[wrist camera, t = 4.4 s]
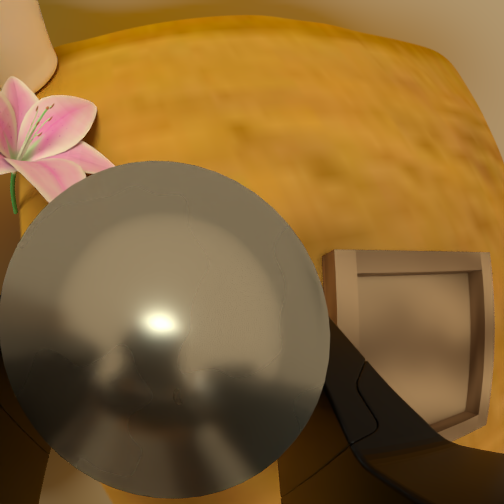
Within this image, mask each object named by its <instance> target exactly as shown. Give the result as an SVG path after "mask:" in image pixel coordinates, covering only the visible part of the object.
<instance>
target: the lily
mask: <svg viewBox="0 0 504 504" xmlns="http://www.w3.org/2000/svg"><path fill="white" fill-rule="evenodd" d="M96 112H97V107H96V106H95V105H94V103H92V102H91V101H88V100H85V99H82V98H78V97H73V96H66V95H52V96H48V97H45V98H42V99H40V100H38V98H37V97H36V95H35V94H34V93H33V92H32V91H31V90H30V89H29V87H28V86H27V85H25V84H24V83H23V82H22V81H21V80H19V79H18V78H16V77H14V76H10V77H9V78H8V79H7V81H6V82H5V84H4V86H3V88H2V91H0V174H5V173H9V172H12V173H11V184H10V185H11V186H10V191H11V200H12V206H13V211H14V214H17V213H18V210H17V205H16V199H15V189H14V188H15V186H14V185H15V177H16V172H17V171H19V172H20V173H21V174H22V175H23V176H24V177H25V178H26V179H27V180H28V181H29V182H30V183H31V184H32V185H33V186H34V187H35V188H36V189H37V190H38V191H39V192H40V193H41V195H42V196H43V197H44V198H45V199H46V200H47V201H48V202H49V203H50V202H51V201H52V200H53V199H54V198H56V197H57V196H58V195H59V194H61V193H62V192H64V191H65V190H66V189H68V188H69V187H70V186H72V185H73V184H75V183H77V182H79V181H81V180H83V179H84V178H86V175H85V173H91V174H95V173H97V172H100V171H103V170H105V169H108V168H111V167H115V165H113V164H112V163H111V162H110V161H109V160H108V159H107V158H106V157H105V156H103V155H102V154H101V153H100V152H98V151H97V150H96V149H95V148H93V147H92V146H90V145H88V144H87V143H85V142H84V141H81V139H82V138H84V137H85V135H86V134H87V132H88V131H89V130H90V128H91V126H92V124H93V121H94V119H95V116H96Z"/></svg>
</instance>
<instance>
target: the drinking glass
mask: <svg viewBox="0 0 504 504" xmlns="http://www.w3.org/2000/svg"><path fill="white" fill-rule="evenodd" d="M57 63H58V60H57V55H56V53H55V51H54V49H53V47H52V45H51V42H50V39H49V37H48V33H47V30H46V27H45V25H44V21H43V18H42V15H41V11H40V8H39V4H38V0H0V89H1V91H2V88H3V86H4V84H5V82H6V81H7V79H8V78H9V77H10V76H14V77H16V78H18V79H19V80H21V81H22V82H23V83H24V84H25V85H27V86H28V87H29V89H30V90H31V91H32V92H33V93H36V92H37V91H38V90H40V89H41V88H42V87H43V86H44V85H45V84H46V83H47V82H48V81H49V80H50V78H51V77H52V75H53V74H54V72H55V70H56V67H57Z"/></svg>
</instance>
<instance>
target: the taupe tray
mask: <svg viewBox="0 0 504 504" xmlns="http://www.w3.org/2000/svg"><path fill="white" fill-rule="evenodd" d="M322 265H323V290H324V296H325V300H326V305H327V309H328V316H329V317H330V318H331V319H332V320H333V322H334V323H335V324H336V325H337V326H338V327H339V329H340V330H341V331H342V332H343V333H344V334H345V335H346V337H347V338H348V339H349V340H350V341H351V342H352V344H353V345H354V346H355V347H356V348H357V349H358V350H359V352H360V353H361V354H362V355H363V356H364V357H365V359H366V360H365V361H368V362H369V363H370V364H371V365H372V367H373V368H374V369H375V370H376V371H377V372H378V373H379V375H380V376H381V377H382V378H383V379H384V380H385V381H386V382H387V384H388V385H389V386H390V387H391V388H392V389H393V390H394V391H395V392H396V393H397V394H398V395H399V396H400V397H401V398H402V399H403V400H404V401H405V402H406V403H407V404H408V405H409V406H410V407H411V408H412V409H413V410H415V411H416V412H417V413H418V414H419V415H420V416H421V417H422V418H423V419H424V420H425V421H426V422H427V423H428V424H429V425H430V426H431V427H432V428H433V429H434V430H435V431H436V432H438V433H439V434H440V435H441V436H443V437H444V438H445V439H447V440H449V441H451V442H452V441H454V440H456V439H458V438H460V437H462V436H465V435H467V434H469V433H471V432H473V431H475V430H477V429H479V428H481V427H483V426H485V425H486V422H487V416H488V410H489V403H490V395H491V386H492V376H493V362H494V333H495V322H494V293H493V279H492V268H491V259H490V252H443V251H388V250H333V251H331V252H329V253H327V254H326V255H324V256H322Z"/></svg>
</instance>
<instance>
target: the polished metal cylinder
mask: <svg viewBox="0 0 504 504" xmlns="http://www.w3.org/2000/svg"><path fill="white" fill-rule="evenodd" d="M0 346H1V351H2V356H3V361H4V366H5V369H6V372H7V376H8V379H9V382H10V385H11V387H12V389H13V392H14V394H15V396H16V398H17V400H18V402H19V404H20V406H21V408H22V410H23V411H24V413H25V415H26V416H27V418H28V419H29V421H30V423H31V424H32V425H33V427H34V428H35V429H36V430H37V432H38V433H39V434H40V435H41V437H42V438H43V439H44V440H45V441H46V442H47V443H48V444H49V445H50V446H51V447H52V448H53V449H54V450H55V451H56V452H57V453H58V454H59V455H60V456H61V457H62V458H64V459H65V460H66V461H67V462H69V463H70V464H71V465H73V466H74V467H75V468H77V469H78V470H80V471H81V472H83V473H85V474H86V475H88V476H90V477H92V478H93V479H95V480H97V481H99V482H102V483H104V484H106V485H108V486H111V487H113V488H116V489H119V490H122V491H125V492H129V493H132V494H136V495H142V496H148V497H154V498H189V497H198V496H204V495H208V494H212V493H216V492H220V491H223V490H226V489H228V488H231V487H233V486H236V485H238V484H240V483H243V482H244V481H246V480H248V479H250V478H251V477H253V476H255V475H257V474H258V473H260V472H262V471H263V470H264V469H265V468H267V467H268V466H269V465H271V464H272V463H273V462H274V461H276V460H277V459H278V458H279V457H280V456H281V455H282V454H283V453H284V452H285V451H286V450H287V449H288V448H289V447H290V446H291V445H292V443H293V442H294V441H295V440H296V438H297V437H298V436H299V434H300V433H301V431H302V430H303V429H304V427H305V426H306V424H307V422H308V421H309V419H310V417H311V415H312V413H313V411H314V409H315V407H316V405H317V403H318V400H319V397H320V394H321V391H322V388H323V385H324V382H325V377H326V372H327V367H328V361H329V349H330V328H329V317H328V309H327V305H326V300H325V296H324V292H323V288H322V285H321V282H320V280H319V277H318V274H317V272H316V269H315V266H314V264H313V262H312V261H311V259H310V257H309V255H308V253H307V251H306V249H305V247H304V246H303V244H302V243H301V241H300V240H299V238H298V237H297V236H296V234H295V233H294V231H293V230H292V229H291V227H290V226H289V225H288V224H287V222H286V221H285V220H284V219H283V218H282V217H281V216H280V215H279V214H278V213H277V212H276V211H275V210H274V209H273V208H272V207H271V206H270V205H269V204H268V203H266V202H265V201H264V200H263V199H261V198H260V197H259V196H258V195H257V194H255V193H254V192H252V191H251V190H249V189H247V188H246V187H244V186H243V185H241V184H240V183H238V182H236V181H234V180H232V179H230V178H228V177H226V176H223V175H221V174H219V173H217V172H214V171H211V170H208V169H205V168H201V167H198V166H195V165H190V164H184V163H178V162H169V161H145V162H135V163H128V164H124V165H119V166H115V167H111V168H108V169H105V170H103V171H100V172H97V173H95V174H92V175H90V176H88V177H86V178H84V179H83V180H81V181H79V182H77V183H75V184H73V185H72V186H70V187H69V188H68V189H66V190H65V191H64V192H62V193H61V194H59V195H58V196H57V197H56V198H54V199H53V200H52V201H51V202H50V203H49V204H48V205H47V206H46V207H45V208H44V209H43V210H42V211H41V212H40V213H39V214H38V216H37V217H36V218H35V219H34V221H33V222H32V223H31V224H30V226H29V227H28V229H27V230H26V232H25V233H24V235H23V237H22V238H21V240H20V242H19V243H18V245H17V247H16V249H15V252H14V254H13V256H12V258H11V261H10V263H9V266H8V269H7V273H6V276H5V279H4V283H3V288H2V293H1V299H0Z"/></svg>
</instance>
